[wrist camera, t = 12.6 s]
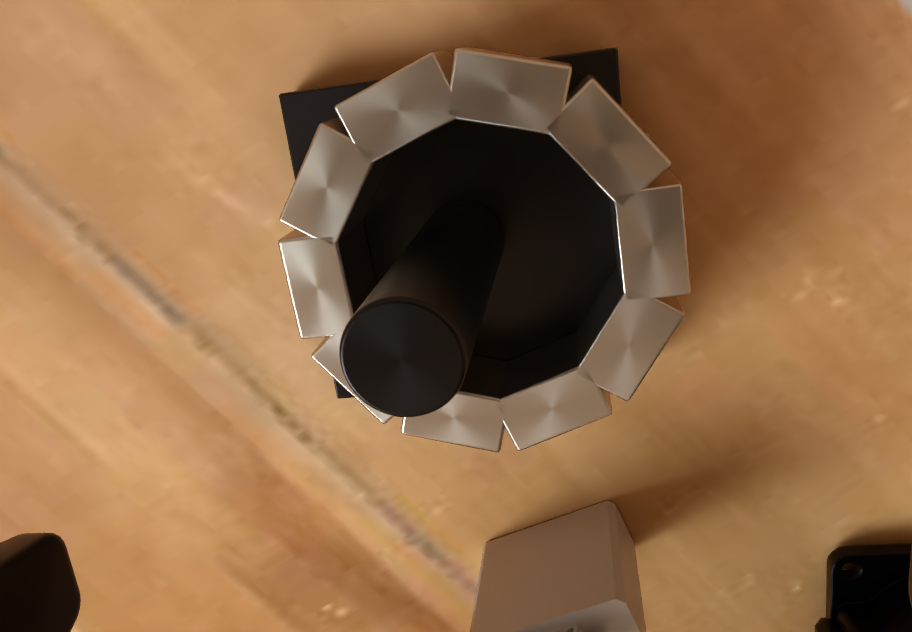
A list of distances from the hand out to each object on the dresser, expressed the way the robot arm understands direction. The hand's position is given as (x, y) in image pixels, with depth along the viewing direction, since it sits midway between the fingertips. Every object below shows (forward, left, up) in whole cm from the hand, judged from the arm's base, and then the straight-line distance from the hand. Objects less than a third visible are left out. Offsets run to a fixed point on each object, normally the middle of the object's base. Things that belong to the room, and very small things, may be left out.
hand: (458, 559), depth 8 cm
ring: (+1, -1, -12) cm, 12 cm away
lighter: (+1, +9, -13) cm, 16 cm away
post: (+1, -1, -13) cm, 13 cm away
